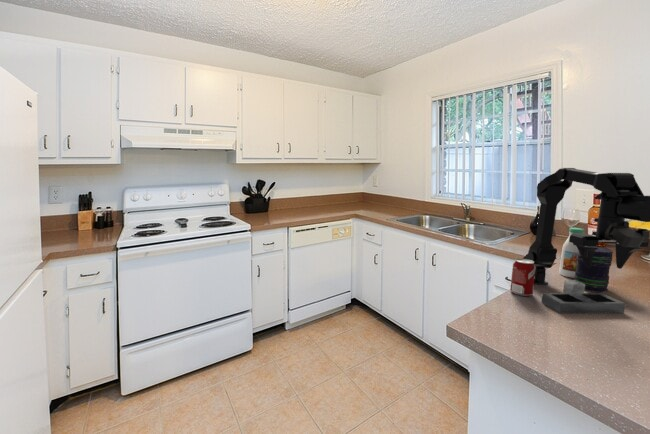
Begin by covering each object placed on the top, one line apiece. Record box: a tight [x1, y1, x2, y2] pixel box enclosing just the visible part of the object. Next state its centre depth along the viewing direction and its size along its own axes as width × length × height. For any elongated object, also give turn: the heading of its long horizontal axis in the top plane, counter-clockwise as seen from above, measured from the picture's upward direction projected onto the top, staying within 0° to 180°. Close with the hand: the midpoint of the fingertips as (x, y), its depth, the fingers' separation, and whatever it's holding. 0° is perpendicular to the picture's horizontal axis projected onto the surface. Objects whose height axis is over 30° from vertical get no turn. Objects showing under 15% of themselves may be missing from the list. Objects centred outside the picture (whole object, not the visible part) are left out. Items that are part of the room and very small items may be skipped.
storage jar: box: [573, 245, 614, 293], centre depth 117 cm, size 10×10×15 cm
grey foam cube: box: [562, 279, 585, 293], centre depth 109 cm, size 4×4×5 cm
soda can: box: [509, 258, 536, 297], centre depth 111 cm, size 7×7×12 cm
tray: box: [541, 292, 626, 314], centre depth 100 cm, size 8×20×3 cm, turn 91°
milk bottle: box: [558, 227, 585, 279], centre depth 130 cm, size 8×8×20 cm
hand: (603, 268), depth 94 cm, fingers open, 9 cm apart
